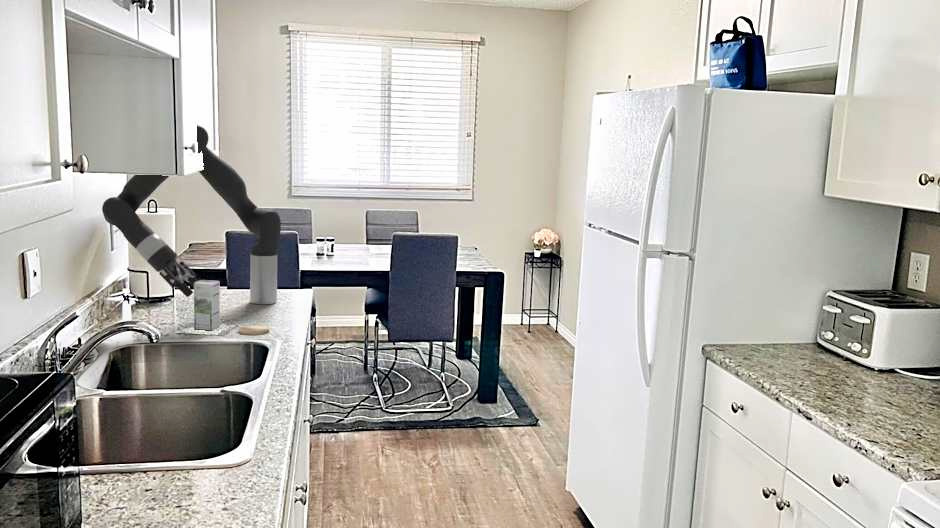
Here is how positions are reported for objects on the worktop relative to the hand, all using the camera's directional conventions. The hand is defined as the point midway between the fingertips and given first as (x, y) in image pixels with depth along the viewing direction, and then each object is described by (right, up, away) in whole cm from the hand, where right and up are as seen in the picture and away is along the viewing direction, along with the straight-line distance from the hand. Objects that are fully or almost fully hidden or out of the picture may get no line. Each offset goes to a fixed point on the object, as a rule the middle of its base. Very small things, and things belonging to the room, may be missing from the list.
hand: (195, 292), depth 219 cm
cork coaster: (+17, -12, +2) cm, 21 cm away
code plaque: (+3, -11, +2) cm, 12 cm away
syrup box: (+3, -11, +2) cm, 12 cm away
